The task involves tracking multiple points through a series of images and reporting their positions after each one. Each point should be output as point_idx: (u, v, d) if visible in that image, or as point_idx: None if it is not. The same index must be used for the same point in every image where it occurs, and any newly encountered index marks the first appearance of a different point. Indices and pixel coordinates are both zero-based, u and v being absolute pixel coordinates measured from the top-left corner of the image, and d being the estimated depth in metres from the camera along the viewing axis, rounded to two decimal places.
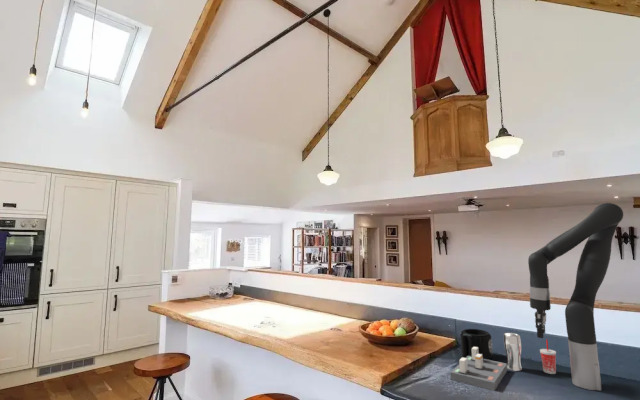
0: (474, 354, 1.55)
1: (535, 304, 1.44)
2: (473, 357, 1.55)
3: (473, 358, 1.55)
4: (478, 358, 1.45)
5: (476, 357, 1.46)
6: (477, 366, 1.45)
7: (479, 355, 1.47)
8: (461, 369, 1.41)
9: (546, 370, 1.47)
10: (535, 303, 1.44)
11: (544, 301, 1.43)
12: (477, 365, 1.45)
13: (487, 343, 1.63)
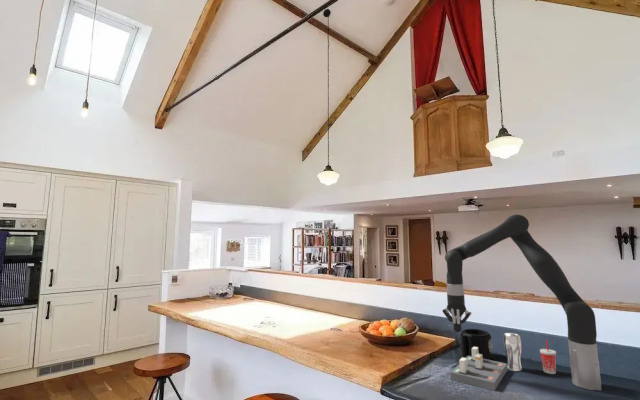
0: (474, 354, 1.55)
1: (462, 300, 1.52)
2: (473, 357, 1.55)
3: (473, 358, 1.55)
4: (478, 358, 1.45)
5: (476, 357, 1.46)
6: (477, 366, 1.45)
7: (479, 355, 1.47)
8: (461, 369, 1.41)
9: (546, 370, 1.47)
10: (462, 299, 1.52)
11: None
12: (477, 365, 1.45)
13: (487, 343, 1.63)
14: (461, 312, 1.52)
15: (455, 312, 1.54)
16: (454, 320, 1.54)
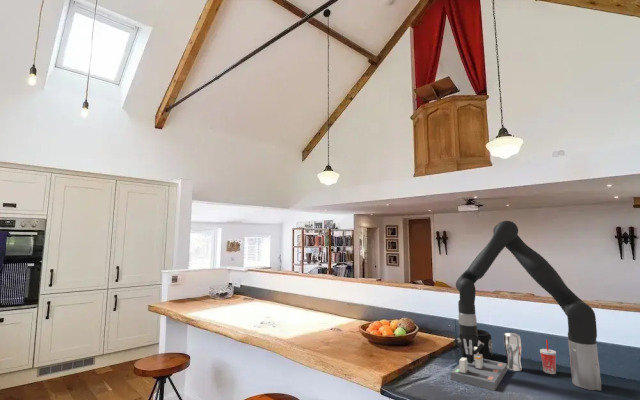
0: (474, 354, 1.55)
1: (475, 330, 1.48)
2: None
3: None
4: (478, 358, 1.45)
5: (476, 357, 1.46)
6: (477, 366, 1.45)
7: (479, 355, 1.47)
8: (461, 369, 1.41)
9: (546, 370, 1.47)
10: (475, 329, 1.48)
11: None
12: (477, 365, 1.45)
13: (487, 343, 1.63)
14: (474, 343, 1.48)
15: (467, 342, 1.49)
16: (467, 351, 1.49)
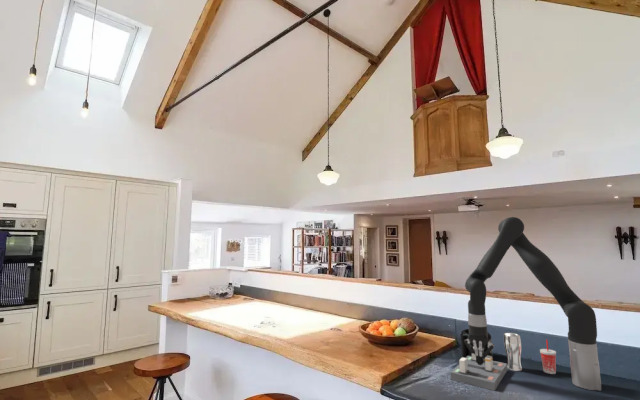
0: (474, 354, 1.55)
1: (485, 331, 1.45)
2: (473, 357, 1.55)
3: (473, 358, 1.55)
4: (488, 360, 1.43)
5: (486, 359, 1.43)
6: (487, 368, 1.43)
7: (489, 357, 1.44)
8: (461, 369, 1.41)
9: (546, 370, 1.47)
10: (485, 331, 1.45)
11: None
12: (487, 367, 1.43)
13: None
14: (484, 344, 1.45)
15: (477, 344, 1.47)
16: (476, 352, 1.47)
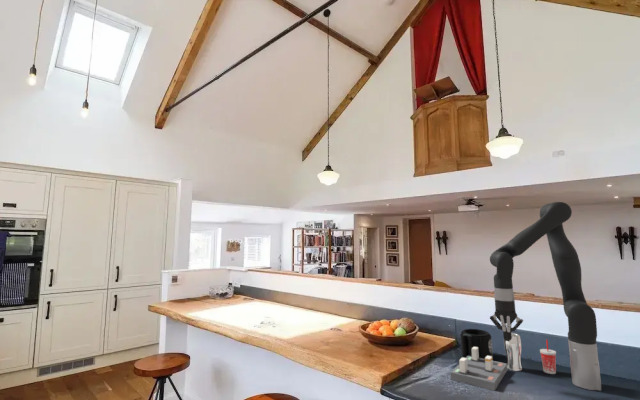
0: (474, 354, 1.55)
1: (513, 306, 1.39)
2: (473, 357, 1.55)
3: (473, 358, 1.55)
4: (488, 360, 1.43)
5: (486, 359, 1.43)
6: (487, 368, 1.43)
7: (489, 357, 1.44)
8: (461, 369, 1.41)
9: (546, 370, 1.47)
10: (513, 305, 1.39)
11: None
12: (487, 367, 1.43)
13: (487, 343, 1.63)
14: (512, 319, 1.39)
15: (505, 319, 1.41)
16: (504, 328, 1.41)
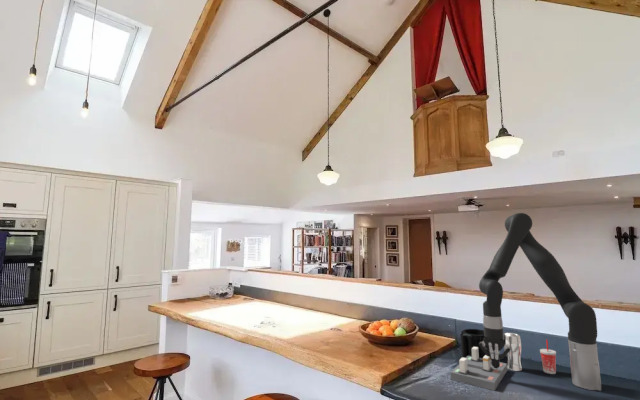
0: (474, 354, 1.55)
1: (501, 333, 1.41)
2: (473, 357, 1.55)
3: (473, 358, 1.55)
4: (486, 360, 1.43)
5: (484, 359, 1.44)
6: (485, 368, 1.43)
7: (487, 357, 1.45)
8: (461, 369, 1.41)
9: (546, 370, 1.47)
10: (501, 333, 1.41)
11: None
12: (485, 367, 1.43)
13: None
14: (500, 347, 1.41)
15: (493, 346, 1.42)
16: (492, 355, 1.42)
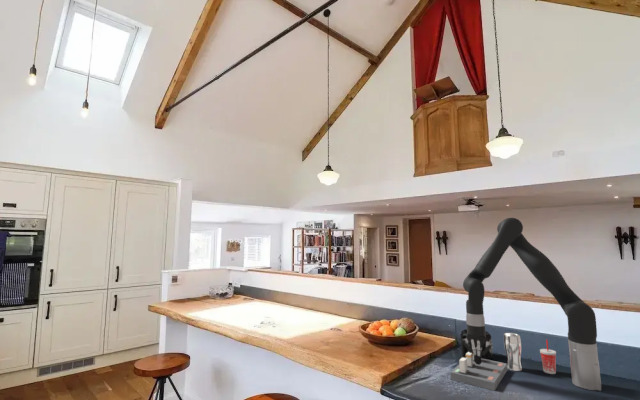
0: None
1: (483, 331, 1.45)
2: (473, 357, 1.55)
3: (473, 358, 1.55)
4: (468, 356, 1.48)
5: (466, 355, 1.48)
6: (467, 364, 1.48)
7: (469, 353, 1.49)
8: (461, 369, 1.41)
9: (546, 370, 1.47)
10: (483, 330, 1.45)
11: None
12: (467, 363, 1.48)
13: None
14: (482, 344, 1.45)
15: (475, 343, 1.47)
16: (474, 352, 1.47)
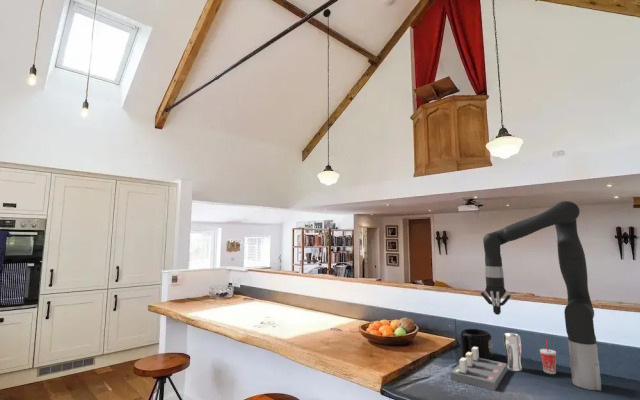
0: (474, 354, 1.55)
1: (502, 282, 1.51)
2: (473, 357, 1.55)
3: (473, 358, 1.55)
4: (468, 356, 1.48)
5: (466, 355, 1.48)
6: (467, 364, 1.48)
7: (469, 353, 1.49)
8: (461, 369, 1.41)
9: (546, 370, 1.47)
10: (502, 281, 1.51)
11: None
12: (467, 363, 1.48)
13: (487, 343, 1.63)
14: (501, 294, 1.51)
15: (494, 294, 1.53)
16: (494, 302, 1.53)
